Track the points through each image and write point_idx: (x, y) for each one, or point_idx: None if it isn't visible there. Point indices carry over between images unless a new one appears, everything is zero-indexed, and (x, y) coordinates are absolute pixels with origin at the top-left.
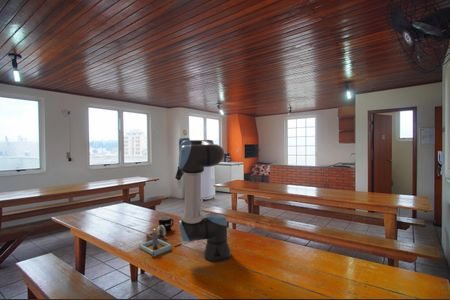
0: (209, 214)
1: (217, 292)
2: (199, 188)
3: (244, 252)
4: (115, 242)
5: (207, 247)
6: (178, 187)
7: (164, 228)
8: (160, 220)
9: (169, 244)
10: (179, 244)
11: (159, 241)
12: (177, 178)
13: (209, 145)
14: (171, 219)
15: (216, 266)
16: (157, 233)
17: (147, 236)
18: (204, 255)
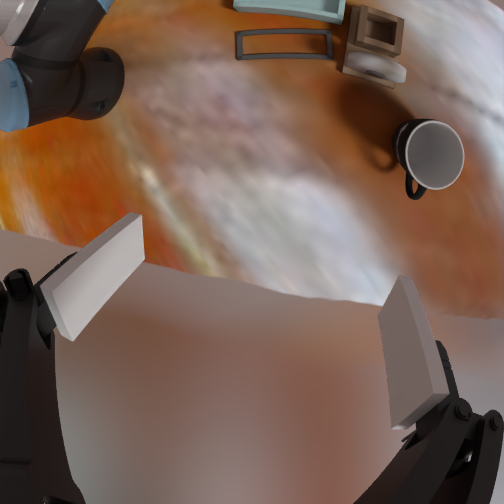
0: (7, 81)
1: None
2: None
3: (66, 143)
4: (474, 2)
5: (83, 52)
6: (406, 291)
7: (355, 59)
8: (437, 120)
9: (241, 3)
10: (240, 50)
11: (316, 11)
12: (460, 423)
13: None
14: (417, 189)
15: None
16: (373, 43)
17: (394, 17)
18: (109, 49)
